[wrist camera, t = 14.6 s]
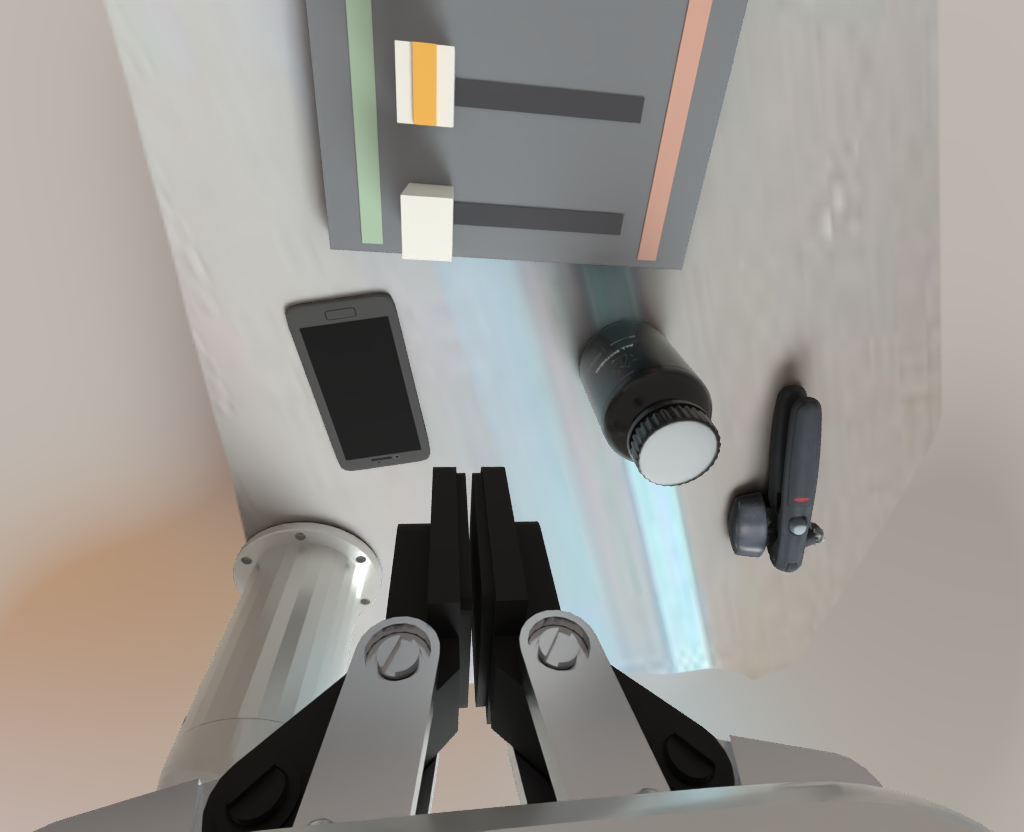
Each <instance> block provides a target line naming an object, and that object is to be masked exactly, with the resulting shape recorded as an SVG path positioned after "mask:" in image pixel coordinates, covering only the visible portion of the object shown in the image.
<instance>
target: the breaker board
mask: <svg viewBox="0 0 1024 832" xmlns="http://www.w3.org/2000/svg"><path fill="white" fill-rule="evenodd" d="M747 2H748V0H306V9H307V20H308V30H309V40H310V50H311V60H312V70H313V80H314V90H315V100H316V110H317V120H318V130H319V140H320V150H321V160H322V170H323V180H324V190H325V200H326V210H327V220H328V230H329V240H330V249H335V250H352V251H369V252H386V253H402V229H401V196H400V195H401V194H402V192H403V191H404V189H405V188H406V187H407V185H408V184H409V183H419V184H432V185H445V186H454V206H453V248H452V256H454V257H471V258H488V259H505V260H522V261H539V262H556V263H573V264H590V265H607V266H624V267H641V268H658V269H675V270H681V269H682V265H683V261H684V257H685V253H686V249H687V245H688V241H689V237H690V233H691V229H692V225H693V221H694V217H695V213H696V209H697V205H698V201H699V197H700V192H701V188H702V184H703V180H704V176H705V172H706V168H707V164H708V160H709V156H710V152H711V148H712V144H713V140H714V136H715V132H716V128H717V124H718V120H719V116H720V111H721V107H722V103H723V99H724V95H725V91H726V87H727V83H728V79H729V75H730V71H731V67H732V63H733V59H734V55H735V51H736V47H737V43H738V39H739V35H740V31H741V26H742V22H743V18H744V14H745V10H746V6H747ZM395 40H398V41H407V42H412V41H413V42H422V43H431V44H437V45H445V46H454V47H455V103H454V127H453V128H452V127H441V126H428V125H417V124H407V123H397V102H396V70H395Z"/></svg>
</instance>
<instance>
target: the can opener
mask: <svg viewBox="0 0 1024 832" xmlns="http://www.w3.org/2000/svg"><path fill="white" fill-rule="evenodd" d="M821 423H822V412H821V405H820V403H819V402H818V400H816V399H814V398H812V397H807V394H806V391H805V390H804V388H803V387H800V386H798V385H791V386H789V387H786V388H785V389H783V390H782V391H781V392H780V394H779V396H778V399H777V404H776V409H775V415H774V421H773V429H772V441H771V459H770V460H771V461H770V462H771V463H770V484H769V492H768V496H767V499H766V501H765V503H764V499H763V497H762V494H761V493H760V492H756V493H751V494H746V495H742V496H738V497H736V498H735V499H734V501H733V504H732V507H731V511H730V515H729V536H730V541H731V545H732V548H733V551H734V553H735V554H736V555H742V556H750V557H760V556H761V555H762V554H763V552H764V550H765V547H766V546H767V549H768V553H769V554H770V560H771V562H772V564H773V565H774V566H775V567H776V568H777V569H779V570H781V571H785V572H793V571H795V570H797V569H798V568H799V567H800V566H801V564H802V560H803V554H804V549H805V547H807V546H810V545H812V544H814V545H816V543H817V544H819V543H822V542H823V541H824V539H825V536H824V533H823V530H822V529H821V528H820V527H819V526H818V525H817V524H815V523H812V522H810V520H811V515H812V510H813V505H814V498H815V493H816V485H817V478H818V469H819V459H820V446H821Z"/></svg>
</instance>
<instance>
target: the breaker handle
mask: <svg viewBox="0 0 1024 832" xmlns="http://www.w3.org/2000/svg"><path fill="white" fill-rule="evenodd" d="M400 196H401V229H402V259H418V260H436V261H452V248H453V206H454V186H445V185H432V184H419V183H409V184H408V185H407V187H406V188H405V189H404V191H403V192H402V194H401V195H400Z"/></svg>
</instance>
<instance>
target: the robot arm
mask: <svg viewBox="0 0 1024 832" xmlns="http://www.w3.org/2000/svg"><path fill="white" fill-rule="evenodd" d="M233 569H234V570H233V578H234V582H235V585H236V588H237V590H238V591H239V593H240V594H241V596H240V598H239V601H238V603H237V605H236V607H235V609H234V611H233V614H232V616H231V618H230V620H229V622H228V625H227V627H226V629H225V631H224V634H223V636H222V638H221V640H220V642H219V645H218V647H217V649H216V651H215V653H214V656H213V658H212V660H211V662H210V664H209V667H208V669H207V671H206V673H205V675H204V678H203V680H202V682H201V684H200V686H199V689H198V691H197V693H196V695H195V698H194V700H193V702H192V704H191V707H190V709H189V711H188V713H187V716H186V717H185V720H184V722H183V724H182V727H181V728H180V731H179V733H178V735H177V737H176V739H175V742H174V744H173V746H172V749H171V751H170V753H169V755H168V757H167V760H166V762H165V764H164V767H163V769H162V772H161V775H160V778H159V782H158V786H157V791H155V792H152V793H148V794H145V795H142V796H139V797H135V798H132V799H129V800H125V801H122V802H119V803H115V804H112V805H109V806H106V807H102V808H99V809H96V810H92V811H89V812H86V813H83V814H79V815H76V816H73V817H69V818H67V819H63V820H60V821H56V822H54V823H52V824H49V825H47V826H45V827H43V828H40V829H38V830H36V831H34V832H993V831H991V830H989V829H988V828H986V827H985V826H983V825H982V824H980V823H978V822H976V821H974V820H972V819H970V818H968V817H966V816H964V815H962V814H960V813H958V812H956V811H953V810H951V809H949V808H946V807H944V806H942V805H939V804H936V803H933V802H930V801H928V800H925V799H922V798H919V797H916V796H913V795H909V794H905V793H902V792H898V791H894V790H891V789H887V788H883V787H882V785H881V784H880V783H879V781H877V779H876V778H874V776H873V775H872V774H871V773H870V772H868V770H866V768H864V767H862V766H861V765H859V764H858V763H856V762H855V761H853V760H852V759H850V758H847V757H844V756H842V755H839V754H836V753H831V752H825V751H819V750H813V749H807V748H801V747H796V746H789V745H784V744H778V743H771V742H766V741H760V740H754V739H749V738H743V737H737V736H731V735H730V736H729V737H728V740H727V741H724V740H718V739H716V738H715V737H714V736H713V735H712V734H710V733H709V732H708V731H707V730H706V729H704V728H703V727H702V726H700V725H699V724H697V723H696V722H694V721H693V720H692V719H690V718H689V717H687V716H685V715H684V714H683V713H681V712H680V711H678V710H677V709H675V708H674V707H672V706H671V705H669V704H668V703H666V702H665V701H663V700H662V699H660V698H659V697H657V696H656V695H655V694H653V693H652V692H650V691H649V690H647V689H646V688H644V687H643V686H641V685H639V684H638V683H637V682H635V681H634V680H632V679H631V678H629V677H628V676H626V675H625V674H624V673H622V672H621V671H619V670H618V669H616V668H615V667H613V666H612V665H610V663H609V661H608V659H607V657H606V655H605V653H604V651H603V649H602V646H601V644H600V642H599V640H598V638H597V636H596V634H595V633H594V631H593V630H592V628H591V627H590V626H589V625H588V624H587V623H586V622H585V621H584V620H582V619H581V618H580V617H578V616H576V615H574V614H572V613H569V612H565V611H561V610H560V606H559V602H558V598H557V593H556V589H555V585H554V581H553V577H552V573H551V569H550V565H549V561H548V557H547V553H546V549H545V544H544V540H543V536H542V532H541V528H540V525H539V523H538V522H537V521H536V522H514V516H513V511H512V505H511V499H510V494H509V488H508V483H507V477H506V472H505V468H504V467H481V473H472V490H471V514H470V539H469V528H468V510H467V493H466V476H465V473H456V467H433V481H432V505H431V524H398V528H397V535H396V543H395V551H394V559H393V566H392V574H391V582H390V590H389V598H388V606H387V613H386V620H383V621H381V622H379V623H378V624H376V625H374V626H373V627H371V628H370V629H369V630H368V631H367V632H366V633H365V634H364V635H363V636H362V638H361V639H360V641H359V643H358V645H357V647H356V649H355V652H354V655H353V658H352V661H351V663H350V666H349V669H348V672H347V673H346V668H347V663H348V658H349V653H350V648H351V643H352V638H353V633H354V628H355V623H356V618H357V616H359V615H361V614H362V613H364V612H365V611H366V610H367V609H368V608H369V607H370V606H372V604H373V603H374V601H375V600H376V598H377V596H378V593H379V591H380V586H381V580H382V574H381V567H380V564H379V561H378V559H377V558H376V556H375V554H374V553H373V551H372V550H371V549H370V548H369V547H368V546H367V545H366V544H365V543H364V542H362V541H361V540H359V539H358V538H357V537H355V536H354V535H352V534H350V533H348V532H345V531H343V530H341V529H338V528H335V527H332V526H329V525H324V524H318V523H306V522H296V523H287V524H281V525H277V526H274V527H270V528H268V529H266V530H264V531H261V532H259V533H258V534H256V535H255V536H253V537H252V538H251V539H249V540H248V542H247V543H246V544H245V545H244V546H243V547H242V549H241V551H240V553H239V555H238V557H237V559H236V561H235V565H234V568H233ZM471 627H472V646H473V665H474V684H475V702H476V707H482V706H486V717H487V724H491V728H492V729H493V730H494V731H495V732H497V734H499V735H500V736H501V737H502V738H503V739H504V740H505V741H507V745H508V755H509V759H510V763H511V767H512V771H513V775H514V779H515V783H516V788H517V792H518V796H519V800H520V804H521V805H517V806H505V807H494V808H484V809H475V810H474V809H473V810H463V811H453V812H443V813H433V814H431V809H432V802H433V796H434V789H435V782H436V776H437V770H438V763H439V751H440V750H441V749H442V748H443V747H444V746H445V745H446V743H447V742H448V741H449V740H450V739H451V738H452V737H453V736H454V735H455V733H456V732H457V731H458V711H459V708H467V707H468V687H469V667H470V647H471ZM345 673H346V674H345Z"/></svg>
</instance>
